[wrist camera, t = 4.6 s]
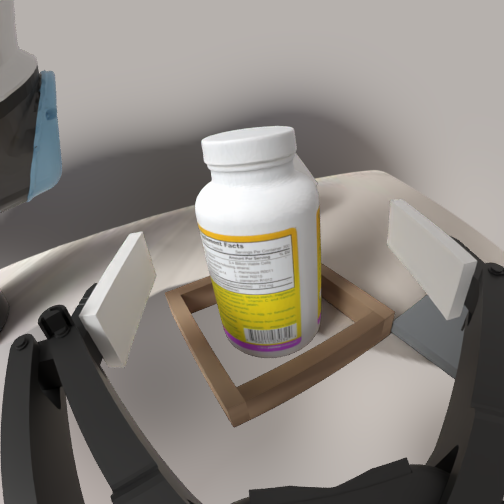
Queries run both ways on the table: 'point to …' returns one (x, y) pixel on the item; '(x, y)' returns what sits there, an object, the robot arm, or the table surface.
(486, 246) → the table surface
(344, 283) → the walnut frame
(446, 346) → the slate coaster
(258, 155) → the supplement bottle
